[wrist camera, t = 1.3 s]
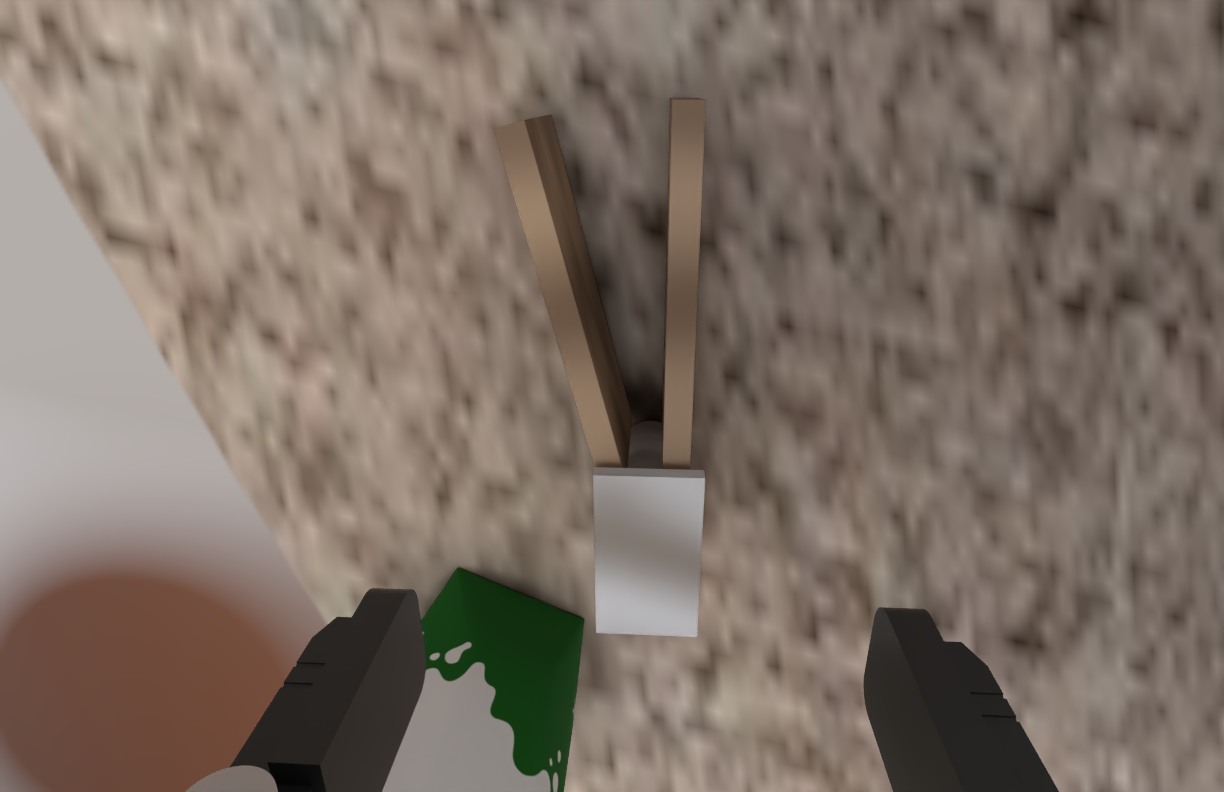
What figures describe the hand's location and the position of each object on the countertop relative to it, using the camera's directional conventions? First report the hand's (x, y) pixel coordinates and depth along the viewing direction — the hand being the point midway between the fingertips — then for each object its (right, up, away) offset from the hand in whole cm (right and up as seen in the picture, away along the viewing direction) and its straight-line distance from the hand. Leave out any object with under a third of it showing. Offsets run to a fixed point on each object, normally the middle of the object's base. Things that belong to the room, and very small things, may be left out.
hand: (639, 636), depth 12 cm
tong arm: (-1, +8, +17) cm, 19 cm away
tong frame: (+1, +6, +18) cm, 19 cm away
